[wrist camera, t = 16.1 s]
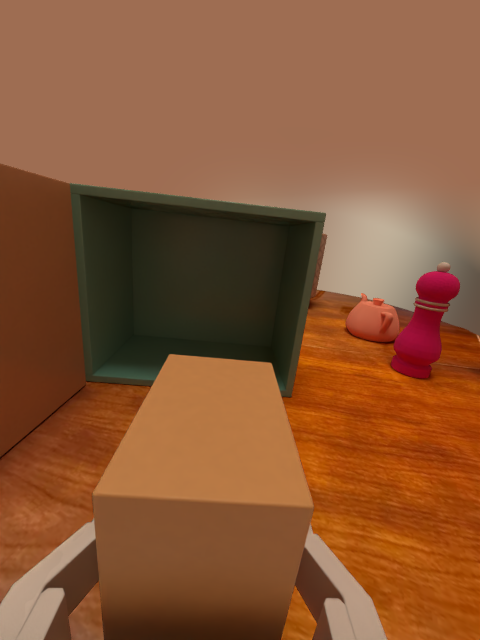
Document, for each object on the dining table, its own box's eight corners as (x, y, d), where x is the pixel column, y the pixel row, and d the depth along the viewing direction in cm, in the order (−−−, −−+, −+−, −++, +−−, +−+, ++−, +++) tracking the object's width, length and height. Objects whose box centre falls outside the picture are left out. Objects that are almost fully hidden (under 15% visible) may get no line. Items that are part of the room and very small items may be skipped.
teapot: (356, 343, 60) (367, 303, 57) (335, 320, 77) (342, 288, 75) (410, 350, 60) (423, 310, 57) (376, 325, 77) (385, 293, 74)
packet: (114, 771, 9) (90, 495, 5) (164, 549, 15) (169, 353, 11) (248, 771, 9) (316, 507, 5) (242, 553, 15) (271, 362, 11)
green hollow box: (291, 397, 37) (326, 213, 29) (85, 381, 35) (69, 182, 28) (274, 349, 52) (294, 220, 45) (130, 337, 50) (127, 201, 43)
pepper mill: (402, 359, 54) (434, 260, 48) (440, 377, 48) (482, 266, 42) (379, 363, 51) (410, 258, 45) (417, 383, 45) (459, 264, 39)
